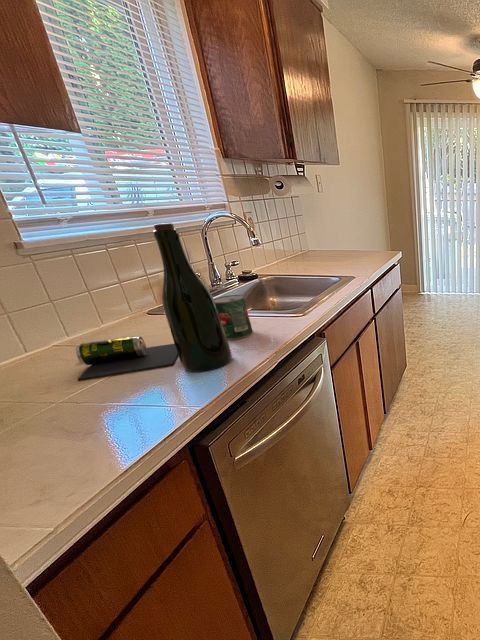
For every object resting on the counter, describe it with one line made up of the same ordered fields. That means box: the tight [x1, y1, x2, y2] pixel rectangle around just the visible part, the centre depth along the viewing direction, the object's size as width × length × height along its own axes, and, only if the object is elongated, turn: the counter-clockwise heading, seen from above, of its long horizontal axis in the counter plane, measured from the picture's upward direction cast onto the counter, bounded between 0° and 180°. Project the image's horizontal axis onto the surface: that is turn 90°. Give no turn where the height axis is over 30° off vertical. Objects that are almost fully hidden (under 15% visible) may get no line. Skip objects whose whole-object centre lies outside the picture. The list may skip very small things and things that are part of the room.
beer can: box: [75, 335, 147, 366], centre depth 99 cm, size 5×5×12 cm
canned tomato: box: [213, 294, 254, 341], centre depth 114 cm, size 8×8×11 cm
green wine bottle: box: [153, 222, 233, 373], centre depth 91 cm, size 10×10×33 cm
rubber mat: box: [77, 343, 179, 382], centre depth 101 cm, size 18×16×1 cm
